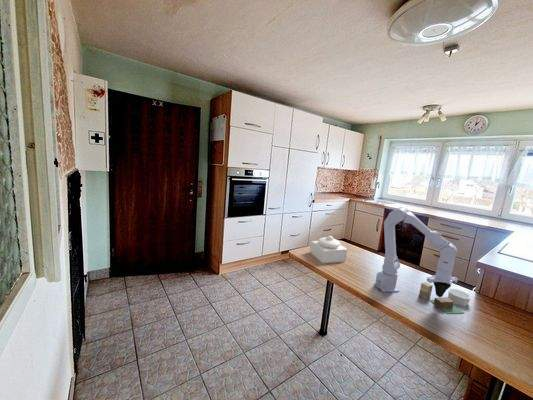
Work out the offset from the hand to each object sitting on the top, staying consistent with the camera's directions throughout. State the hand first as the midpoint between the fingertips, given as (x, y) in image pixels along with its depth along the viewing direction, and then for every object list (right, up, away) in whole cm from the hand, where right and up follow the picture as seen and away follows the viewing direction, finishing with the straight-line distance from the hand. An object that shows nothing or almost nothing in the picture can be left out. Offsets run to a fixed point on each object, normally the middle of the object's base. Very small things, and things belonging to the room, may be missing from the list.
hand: (438, 295), depth 109 cm
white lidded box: (-39, +6, +51) cm, 65 cm away
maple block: (0, -4, +10) cm, 11 cm away
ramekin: (+15, -6, +8) cm, 18 cm away
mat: (+5, -6, +2) cm, 8 cm away
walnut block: (0, -4, +1) cm, 4 cm away
